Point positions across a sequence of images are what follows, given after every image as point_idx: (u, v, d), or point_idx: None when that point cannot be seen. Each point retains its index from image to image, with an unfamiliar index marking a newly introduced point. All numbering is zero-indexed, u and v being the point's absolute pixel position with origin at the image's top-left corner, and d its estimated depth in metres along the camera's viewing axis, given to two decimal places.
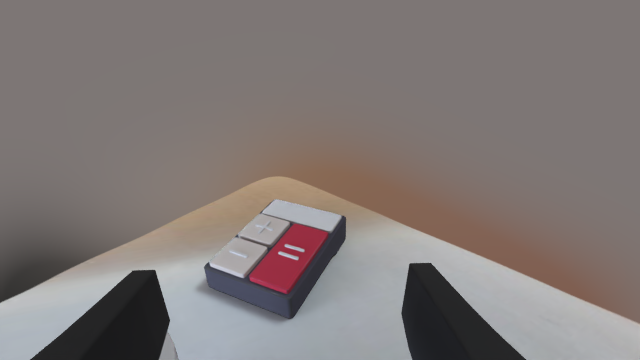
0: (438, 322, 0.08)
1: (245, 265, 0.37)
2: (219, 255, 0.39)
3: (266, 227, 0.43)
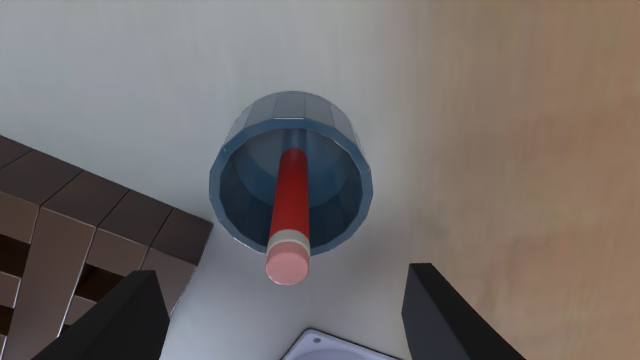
0: (438, 322, 0.08)
1: None
2: None
3: None
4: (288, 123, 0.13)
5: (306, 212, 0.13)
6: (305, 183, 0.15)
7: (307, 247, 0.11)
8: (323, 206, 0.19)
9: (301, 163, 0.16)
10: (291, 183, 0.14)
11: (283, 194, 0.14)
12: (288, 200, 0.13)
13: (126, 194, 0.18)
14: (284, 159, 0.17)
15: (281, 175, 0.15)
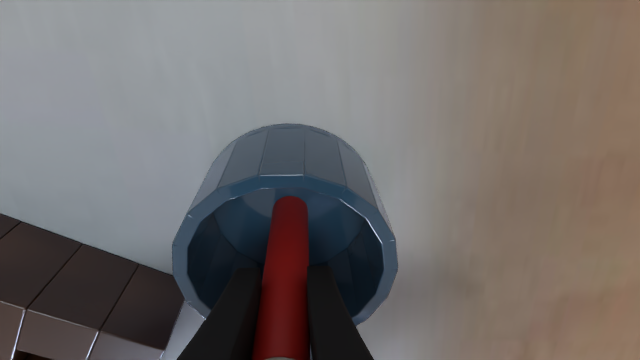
0: (311, 326, 0.08)
1: None
2: None
3: None
4: (281, 181, 0.09)
5: (306, 310, 0.09)
6: (305, 254, 0.11)
7: None
8: (327, 264, 0.15)
9: (299, 220, 0.12)
10: (285, 259, 0.10)
11: (273, 280, 0.10)
12: (281, 293, 0.09)
13: (76, 252, 0.14)
14: (277, 213, 0.13)
15: (272, 241, 0.11)
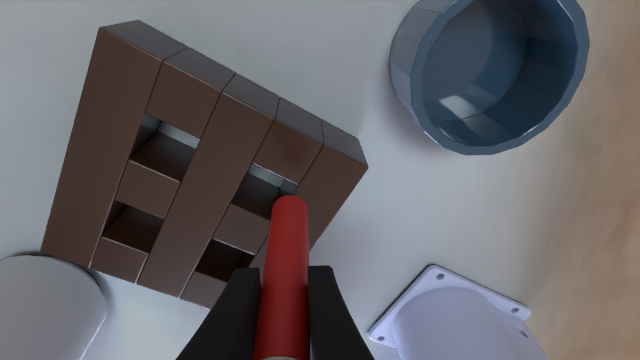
0: (312, 326, 0.08)
1: None
2: None
3: None
4: None
5: (306, 310, 0.09)
6: (305, 253, 0.11)
7: None
8: (483, 114, 0.18)
9: (299, 219, 0.12)
10: (285, 258, 0.10)
11: (273, 279, 0.10)
12: (281, 292, 0.09)
13: (280, 99, 0.17)
14: (277, 213, 0.13)
15: (272, 241, 0.11)
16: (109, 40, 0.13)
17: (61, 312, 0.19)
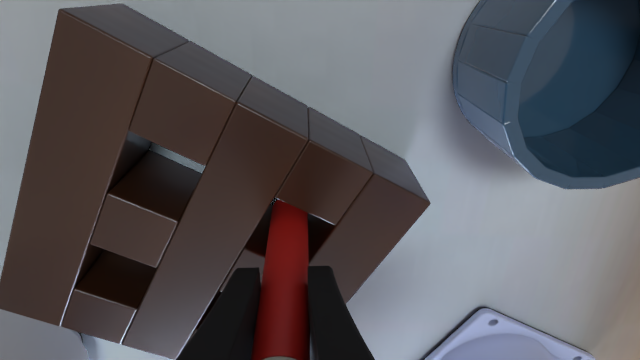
0: (312, 326, 0.08)
1: None
2: None
3: None
4: None
5: (306, 310, 0.09)
6: (304, 253, 0.11)
7: None
8: (571, 130, 0.14)
9: (299, 219, 0.12)
10: (284, 258, 0.10)
11: (272, 279, 0.10)
12: (280, 292, 0.09)
13: (309, 110, 0.13)
14: (276, 213, 0.13)
15: (272, 241, 0.11)
16: (74, 28, 0.09)
17: None
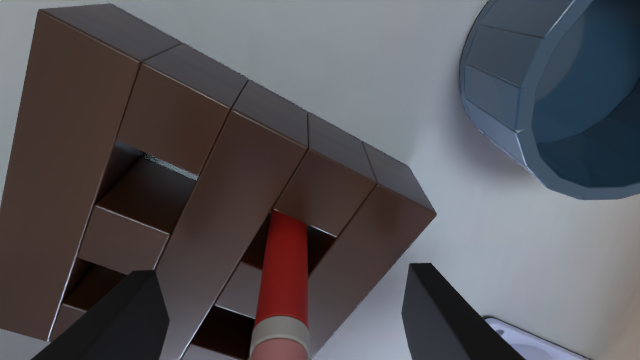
0: (438, 322, 0.08)
1: None
2: None
3: None
4: None
5: (305, 280, 0.10)
6: (304, 232, 0.12)
7: (305, 343, 0.08)
8: (583, 136, 0.13)
9: None
10: (285, 236, 0.11)
11: (274, 254, 0.11)
12: (281, 264, 0.10)
13: (308, 116, 0.13)
14: None
15: (273, 221, 0.12)
16: (56, 30, 0.08)
17: None
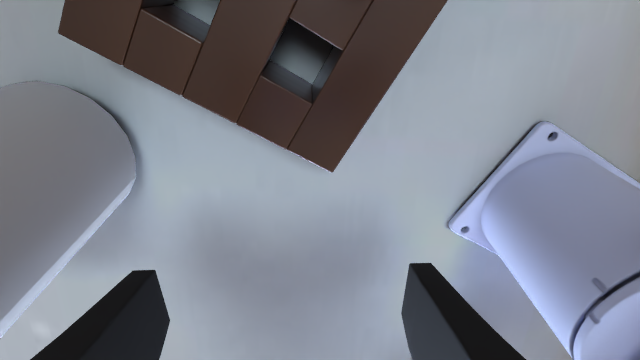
0: (438, 322, 0.08)
1: None
2: None
3: None
4: None
5: None
6: None
7: None
8: None
9: None
10: None
11: None
12: None
13: None
14: None
15: None
16: None
17: (82, 139, 0.15)
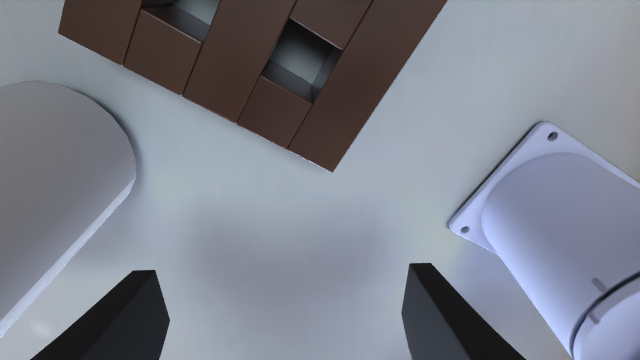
0: (438, 322, 0.08)
1: None
2: None
3: None
4: None
5: None
6: None
7: None
8: None
9: None
10: None
11: None
12: None
13: None
14: None
15: None
16: None
17: (82, 139, 0.15)
